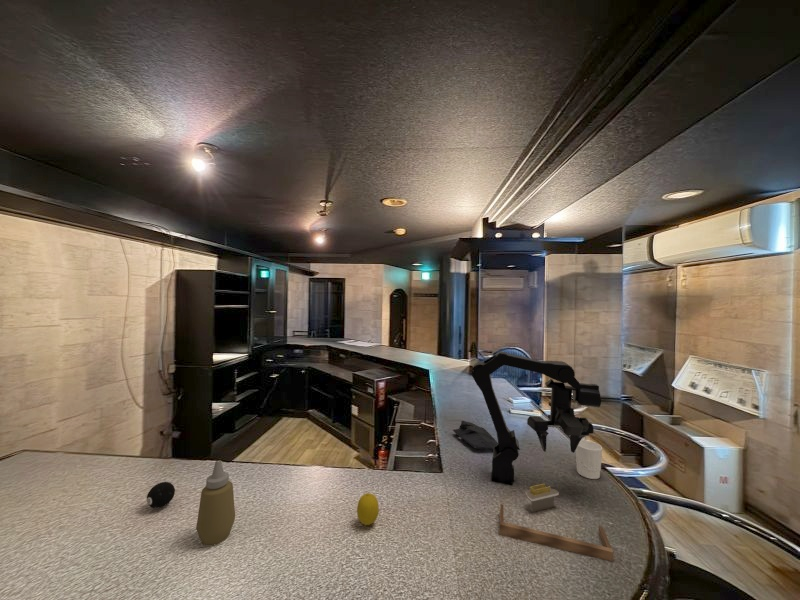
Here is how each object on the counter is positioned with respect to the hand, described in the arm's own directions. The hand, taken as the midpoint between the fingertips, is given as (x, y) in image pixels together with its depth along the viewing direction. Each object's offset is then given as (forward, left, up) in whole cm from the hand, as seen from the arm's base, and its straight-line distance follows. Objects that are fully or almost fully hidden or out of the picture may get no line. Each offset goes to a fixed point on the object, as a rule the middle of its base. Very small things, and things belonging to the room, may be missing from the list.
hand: (558, 451), depth 98 cm
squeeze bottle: (-81, -54, -12) cm, 98 cm away
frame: (-5, -24, -11) cm, 27 cm away
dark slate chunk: (-28, +27, -12) cm, 41 cm away
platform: (-6, -13, -12) cm, 19 cm away
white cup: (+11, +13, -12) cm, 21 cm away
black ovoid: (-105, -51, -12) cm, 117 cm away
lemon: (-49, -37, -12) cm, 62 cm away
